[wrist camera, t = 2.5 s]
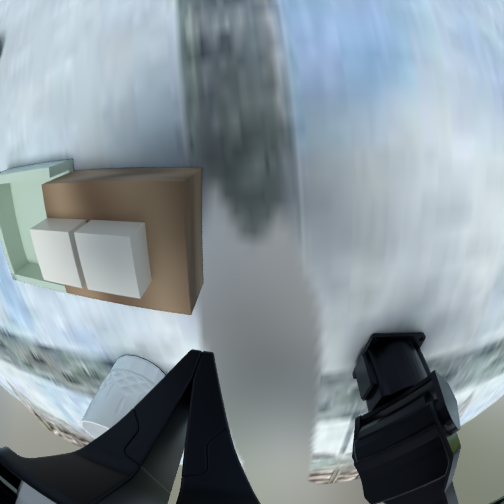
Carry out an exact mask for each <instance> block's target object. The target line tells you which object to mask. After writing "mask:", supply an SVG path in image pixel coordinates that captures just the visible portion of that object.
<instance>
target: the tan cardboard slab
mask: <svg viewBox="0 0 504 504" xmlns="http://www.w3.org/2000/svg"><path fill="white" fill-rule="evenodd" d="M42 192H43V199H44V205H45V210H46V216H47V218H62V219H86V223H88V222H89V221H90V220H107V221H126V222H143V223H145V229H146V238H147V247H148V255H149V263H150V270H151V277H152V281H151V283H150V284H149V286H148V287H147V289H146V291H145V292H144V294H143V295H142V297H141V298H140V299H139V298H133V297H127V296H121V295H115V294H110V293H104V292H99V291H94V290H89V289H88V288H87V284H86V285H85V286H84V287H83V288H79V287H74V286H69V285H64V286H65V289H66V292H67V293H70V294H75V295H79V296H84V297H89V298H93V299H98V300H103V301H108V302H113V303H119V304H124V305H130V306H135V307H141V308H147V309H153V310H160V311H166V312H173V313H180V314H187V315H191V314H192V311H193V309H194V306H195V303H196V301H197V298H198V295H199V293H200V290H201V288H202V285H203V254H202V168H189V167H139V168H110V169H92V170H78V171H72V172H70V173H67V174H65V175H62V176H60V177H58V178H55V179H53V180H51V181H48V182H46V183H44V184H42Z"/></svg>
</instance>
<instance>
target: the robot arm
mask: <svg viewBox="0 0 504 504" xmlns="http://www.w3.org/2000/svg"><path fill="white" fill-rule="evenodd" d="M425 338H426V336H425V334H424V333H404V334H374V335H372V336H371V337H370V339H369V341H368V344H367V346H366V348H365V350H364V352H363V353H362V355H361V357H360V359H359V361H358V363H357V365H356V367H355V370H354V372H353V378H354V379H357V382H358V387H359V391H360V396H361V399H362V400H363V401H364V400H366V403H367V407H368V413H366V414H364V415H362V416H359V417H357V418H356V419H355V431H354V441H353V452H352V458H353V460H354V466H355V467H356V469H357V471H358V473H359V475H360V478H361V481H362V486H363V491H364V497H365V499H366V500H367V501H368V502H369V503H370V504H377V503H381V502H383V503H385V504H458V500H457V497H456V493H455V490H454V486H453V482H452V479H453V476H454V472H455V469H456V465H457V461H458V457H459V453H460V449H461V446H460V441H459V439H458V436H457V433H456V432H457V431H458V430H460V420H459V413H458V406H457V401H456V399H455V396H454V394H453V392H452V390H451V388H450V386H449V384H448V383H447V382H446V381H445V380H444V379H443V378H442V377H441V376H440V375H439V374H438V373H437V372H436V371H435V370H434V371H433V372H430V370H429V367H428V365H427V363H426V361H425V359H424V356H423V354H422V352H421V350H420V347H421V345H422V343H423V342H424V340H425ZM184 447H185V448H184ZM183 451H184V458H183V469H182V479H181V487H180V492H179V496H178V499H177V502H176V504H260V502H259V500H258V499H257V497H256V495H255V494H254V492H253V489H252V488H251V485H250V483H249V481H248V479H247V477H246V475H245V473H244V470H243V468H242V466H241V464H240V461H239V459H238V456H237V454H236V451H235V449H234V445H233V442H232V438H231V434H230V430H229V426H228V421H227V417H226V412H225V408H224V403H223V398H222V393H221V389H220V384H219V378H218V373H217V368H216V363H215V357H214V353H213V352H207V351H203V352H202V351H200V350H190V351H189V352H188V353H187V354H186V355H185V356H184V357H183V358H182V359H181V360H180V361H179V362H178V363H177V364H176V366H175V367H174V368H173V369H172V370H171V371H170V372H169V373H168V374H167V375H166V376H165V377H164V378H163V379H162V380H161V381H160V382H159V383H158V384H157V385H156V386H155V387H154V388H153V389H152V390H151V391H150V392H149V393H148V394H147V395H146V396H145V397H144V398H143V399H142V400H141V401H140V402H139V403H138V404H137V405H136V406H134V408H132V409H131V410H130V411H129V412H128V413H127V414H126V415H125V416H124V417H123V418H122V419H121V420H120V421H119V422H117V423H116V424H115V425H114V426H112V427H111V428H110V429H108V430H107V431H106V432H104V433H103V434H102V435H100V436H99V437H97V438H96V439H95V440H93V441H92V442H90V443H89V444H88V445H86V446H85V447H83V448H81V449H79V450H77V451H75V452H71V453H66V454H60V455H53V456H46V457H38V458H24V457H21V456H19V455H17V454H16V453H15V452H13V451H12V450H11V449H10V448H8V447H3V448H0V504H168V500H169V497H170V493H171V490H172V487H173V483H174V480H175V477H176V474H177V470H178V467H179V464H180V460H181V457H182V454H183ZM489 504H504V496H503V497H501V498H499V499H497V500H495V501H493V502H492V503H489Z"/></svg>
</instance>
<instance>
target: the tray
mask: <svg viewBox="0 0 504 504" xmlns="http://www.w3.org/2000/svg"><path fill="white" fill-rule="evenodd" d="M72 171H74V168H73V159H67V160H60V161H52V162H45V163H39V164H33V165H27V166H21V167H16V168H11V169H7V170H5V171H2V172H0V240H1V243H2V247H3V250H4V254H5V257H6V260H7V263H8V266H9V269H10V272H11V275H12V277H13V279H14V280H17V281H20V282H24V283H28V284H31V285H35V286H39V287H43V288H47V289H50V290H54V291H59V292H63V293H67V292H66V289H65V286H64V284H60V283H55V282H51V281H46V280H44V278H43V275H42V272H41V269H40V266H39V263H38V259H37V256H36V253H35V249H34V245H33V241H32V237H31V233H30V229H31V228H32V227H34V226H35V225H37V224H38V223H40V222H41V221H43V220H44V219H46V218H47V216H46V210H45V205H44V199H43V192H42V184H44V183H46V182H48V181H51V180H53V179H55V178H58V177H60V176H62V175H65V174H67V173H70V172H72ZM67 294H70V293H67ZM71 295H75V294H71Z"/></svg>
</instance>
